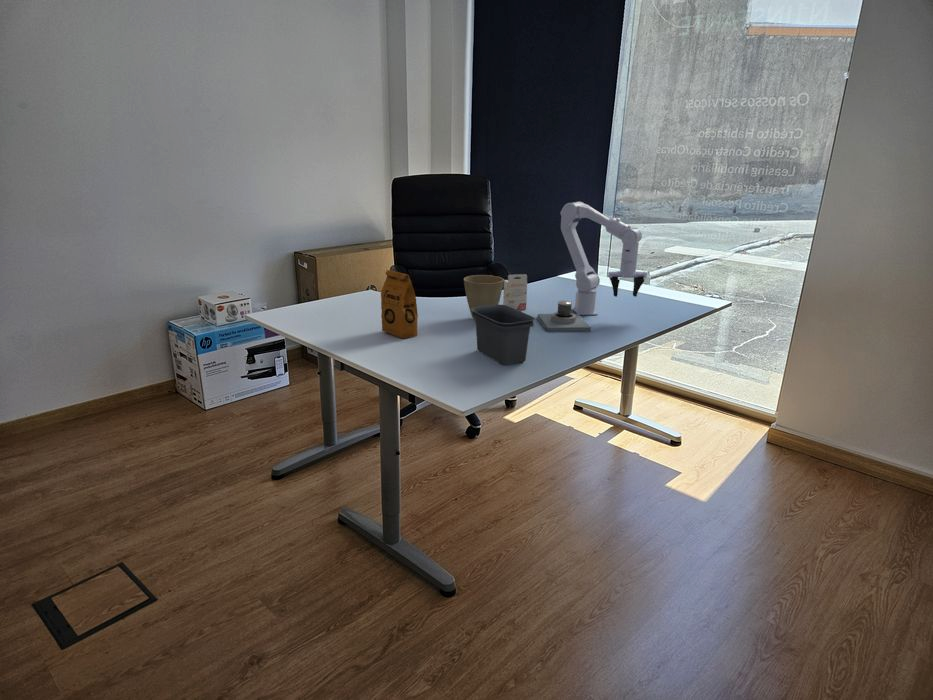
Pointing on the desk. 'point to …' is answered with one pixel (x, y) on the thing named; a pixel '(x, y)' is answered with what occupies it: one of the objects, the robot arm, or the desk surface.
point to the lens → (564, 309)
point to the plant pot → (483, 290)
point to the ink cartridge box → (515, 292)
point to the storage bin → (502, 332)
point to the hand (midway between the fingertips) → (624, 296)
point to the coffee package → (399, 306)
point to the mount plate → (563, 322)
